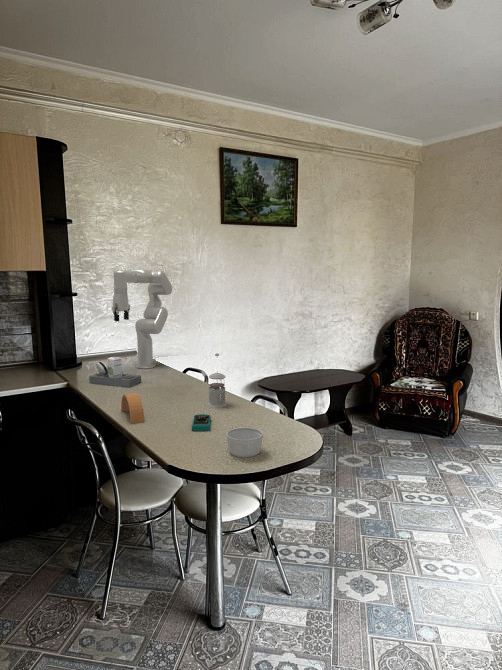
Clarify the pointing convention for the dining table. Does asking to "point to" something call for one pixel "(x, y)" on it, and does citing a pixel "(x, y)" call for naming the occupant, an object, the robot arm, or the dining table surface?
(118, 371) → the syrup box
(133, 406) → the arch
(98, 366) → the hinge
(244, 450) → the ramekin
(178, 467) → the dining table surface
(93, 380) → the gray compartment tray
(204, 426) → the digital multimeter
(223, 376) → the french press
